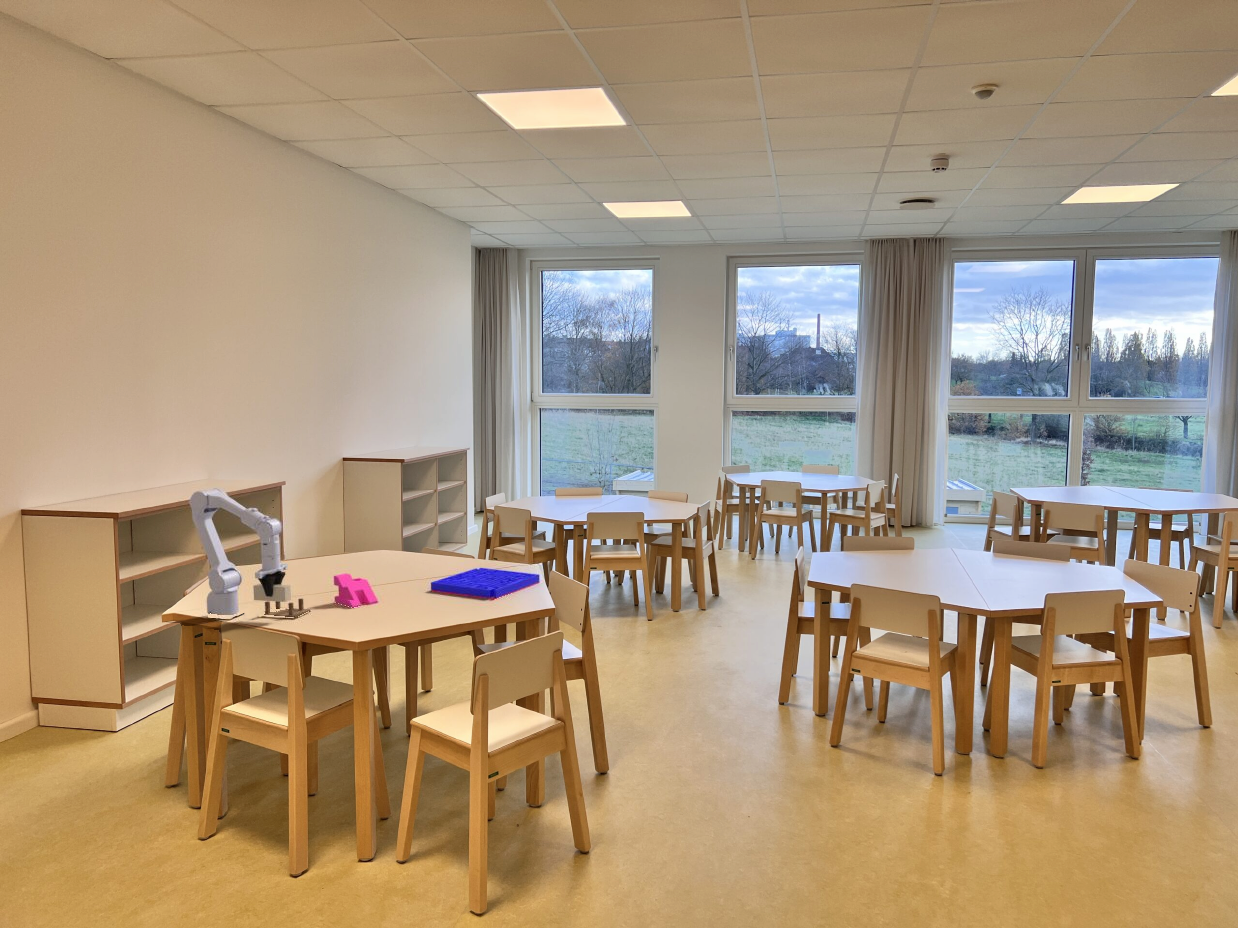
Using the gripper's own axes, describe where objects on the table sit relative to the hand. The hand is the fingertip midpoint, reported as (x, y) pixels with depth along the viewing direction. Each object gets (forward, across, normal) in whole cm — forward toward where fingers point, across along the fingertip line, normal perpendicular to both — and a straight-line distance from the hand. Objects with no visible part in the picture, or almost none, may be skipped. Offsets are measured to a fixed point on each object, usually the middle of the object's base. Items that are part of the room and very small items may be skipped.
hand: (272, 594), depth 279 cm
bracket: (+9, +26, -16) cm, 31 cm away
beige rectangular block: (+2, 0, 0) cm, 2 cm away
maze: (+9, +58, -53) cm, 79 cm away
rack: (+8, +6, 0) cm, 10 cm away
